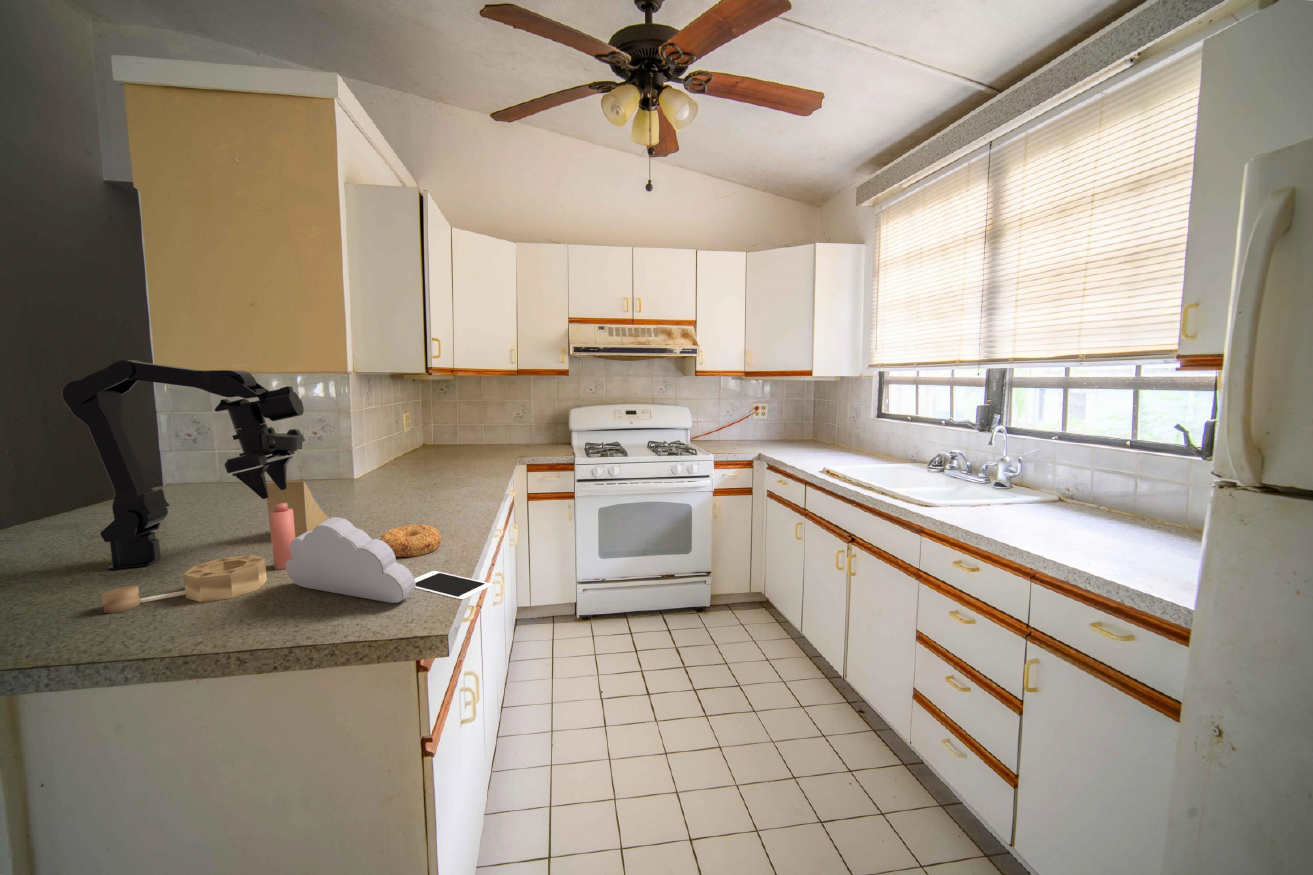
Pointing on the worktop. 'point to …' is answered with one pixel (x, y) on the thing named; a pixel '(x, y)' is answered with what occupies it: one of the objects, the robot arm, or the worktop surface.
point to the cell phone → (449, 585)
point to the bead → (225, 578)
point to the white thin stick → (162, 596)
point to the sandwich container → (297, 505)
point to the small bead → (121, 599)
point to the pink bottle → (282, 534)
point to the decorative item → (348, 563)
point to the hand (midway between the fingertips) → (275, 493)
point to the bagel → (412, 540)
